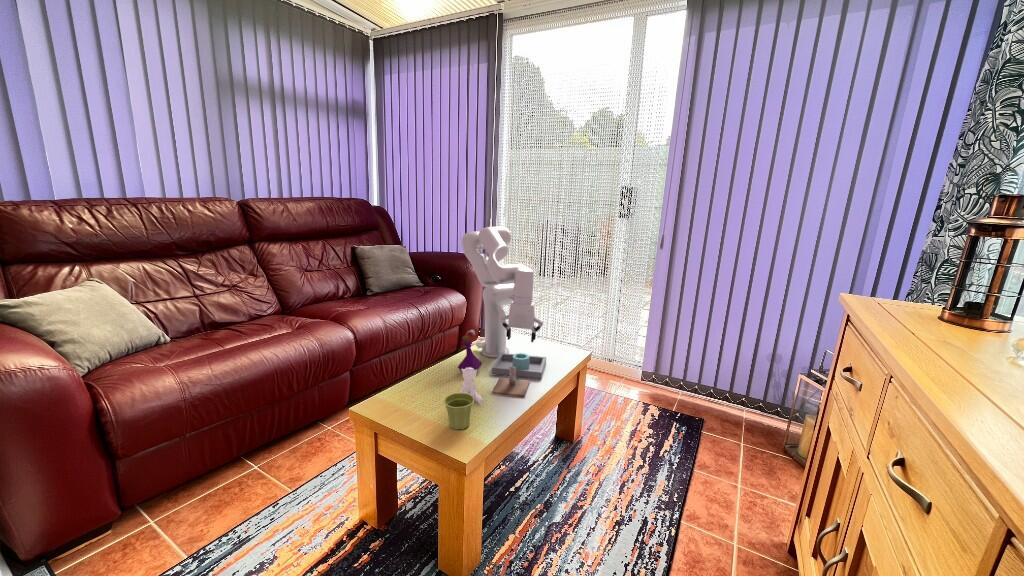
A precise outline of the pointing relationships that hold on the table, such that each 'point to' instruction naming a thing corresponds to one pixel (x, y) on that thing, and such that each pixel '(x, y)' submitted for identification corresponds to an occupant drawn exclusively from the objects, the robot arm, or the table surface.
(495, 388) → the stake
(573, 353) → the table surface
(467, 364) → the perfume bottle
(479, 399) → the seated beast figurine
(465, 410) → the plant pot
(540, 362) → the tray
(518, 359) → the ring
